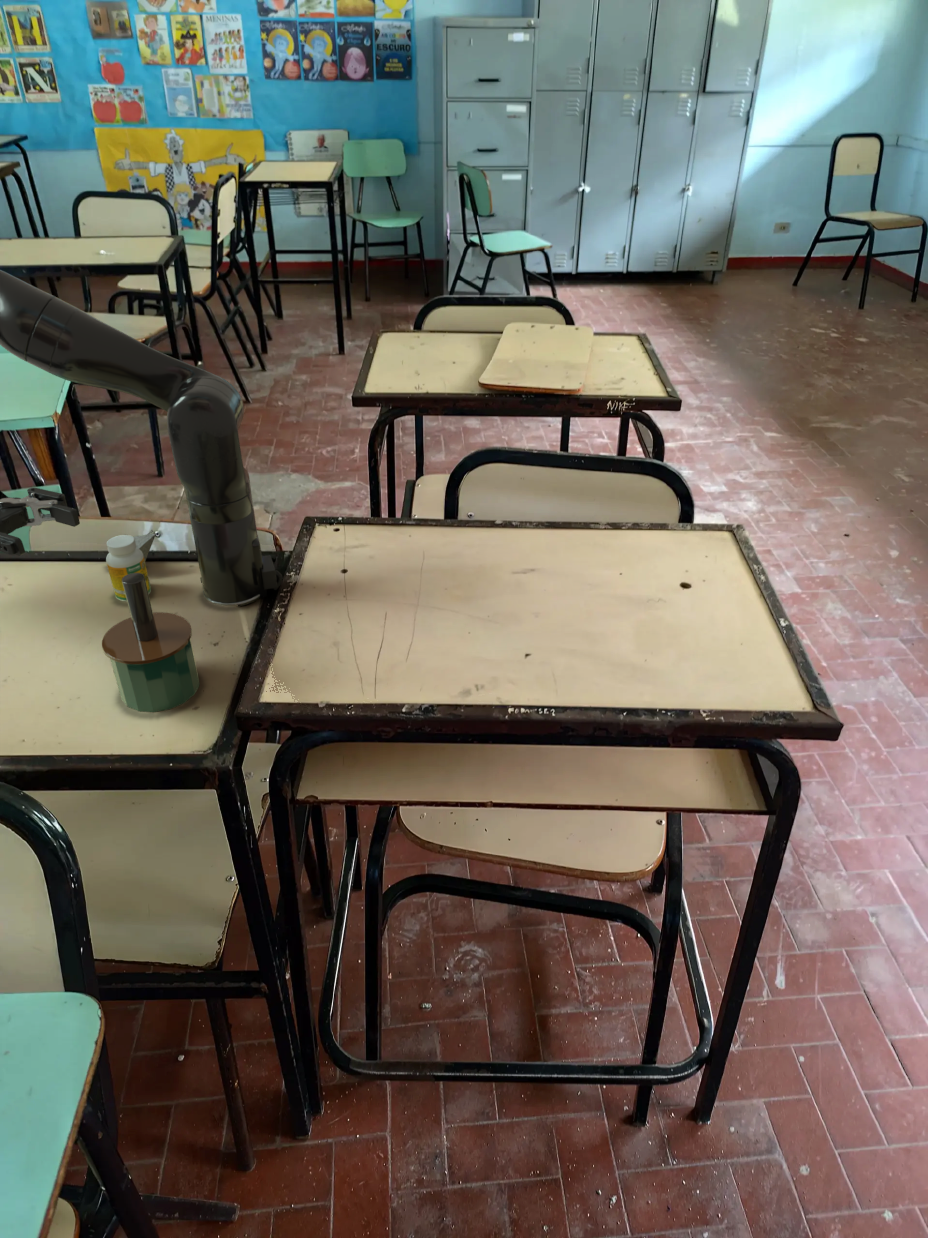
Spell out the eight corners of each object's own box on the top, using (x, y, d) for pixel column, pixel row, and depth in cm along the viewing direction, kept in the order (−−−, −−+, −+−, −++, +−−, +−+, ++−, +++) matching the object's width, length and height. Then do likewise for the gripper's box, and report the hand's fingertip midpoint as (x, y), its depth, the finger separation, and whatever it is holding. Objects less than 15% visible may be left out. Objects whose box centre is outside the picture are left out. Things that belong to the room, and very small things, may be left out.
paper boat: (85, 559, 138) (123, 523, 143) (115, 587, 141) (151, 551, 146) (114, 543, 130) (153, 506, 135) (145, 574, 132) (182, 536, 138)
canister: (196, 663, 117) (186, 611, 112) (202, 706, 109) (191, 653, 105) (121, 676, 114) (107, 624, 110) (122, 721, 107) (107, 668, 102)
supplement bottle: (131, 583, 134) (118, 529, 129) (159, 590, 133) (147, 536, 127) (108, 600, 130) (93, 545, 125) (136, 607, 129) (122, 552, 123)
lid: (189, 613, 113) (176, 550, 108) (195, 658, 105) (182, 593, 99) (104, 627, 110) (86, 563, 105) (103, 675, 102) (84, 608, 96)
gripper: (-100, 502, 104) (-8, 529, 98) (-2, 460, 115) (86, 483, 109) (-79, 555, 108) (10, 585, 102) (14, 510, 119) (100, 535, 113)
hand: (49, 532), depth 106 cm, fingers open, 8 cm apart
